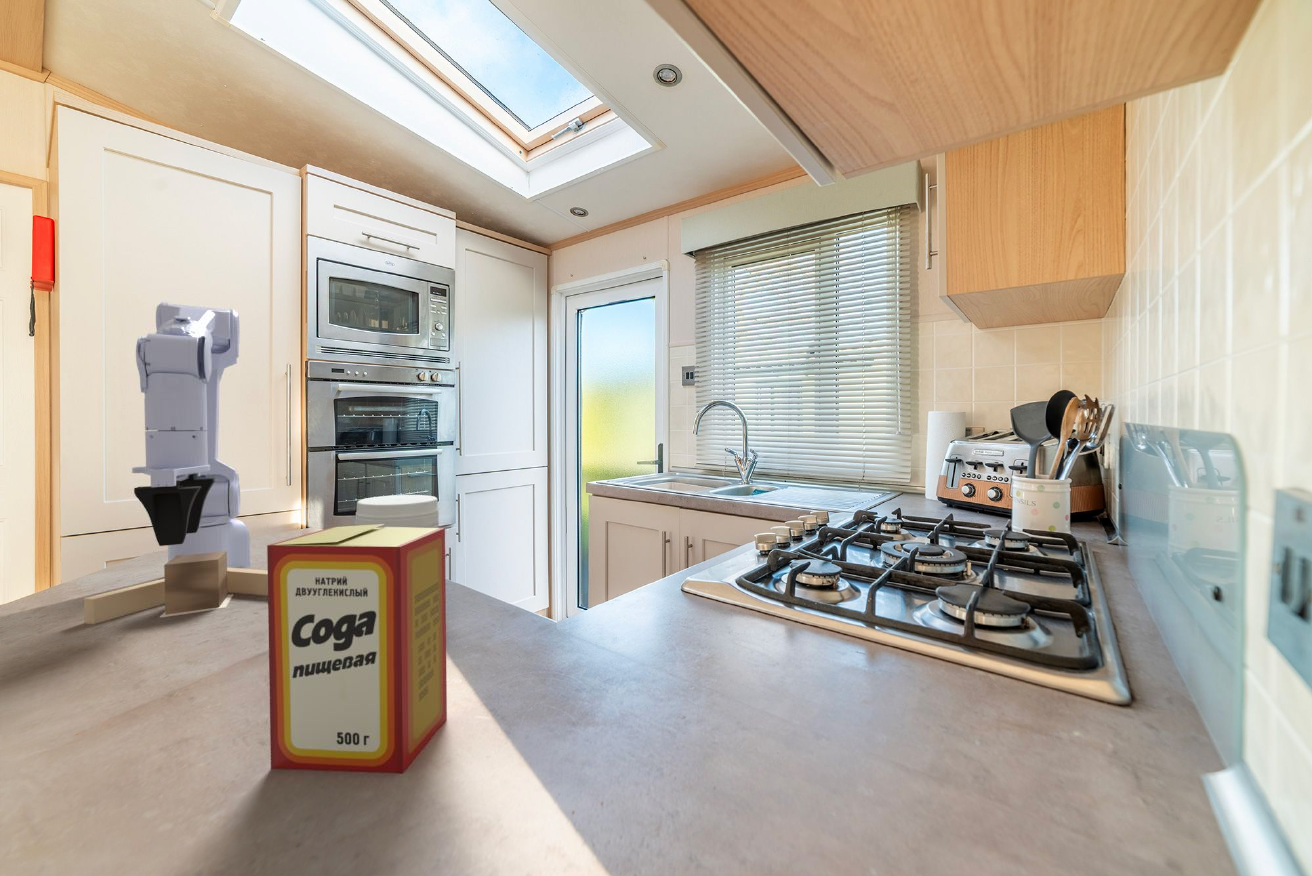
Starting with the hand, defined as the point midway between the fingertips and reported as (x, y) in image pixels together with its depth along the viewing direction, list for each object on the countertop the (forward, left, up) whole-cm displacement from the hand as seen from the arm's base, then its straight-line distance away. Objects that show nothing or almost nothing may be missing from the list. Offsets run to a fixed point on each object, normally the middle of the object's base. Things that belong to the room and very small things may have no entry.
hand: (179, 538), depth 65 cm
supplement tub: (-7, +26, -10) cm, 29 cm away
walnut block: (-1, +2, -8) cm, 9 cm away
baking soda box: (+17, +43, -10) cm, 47 cm away
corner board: (0, +5, -10) cm, 11 cm away
